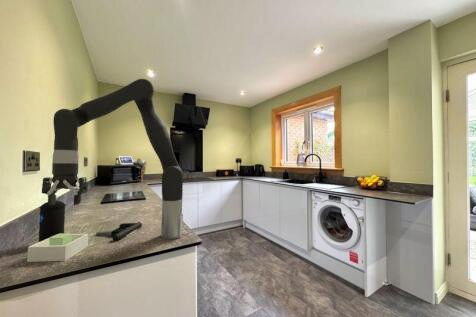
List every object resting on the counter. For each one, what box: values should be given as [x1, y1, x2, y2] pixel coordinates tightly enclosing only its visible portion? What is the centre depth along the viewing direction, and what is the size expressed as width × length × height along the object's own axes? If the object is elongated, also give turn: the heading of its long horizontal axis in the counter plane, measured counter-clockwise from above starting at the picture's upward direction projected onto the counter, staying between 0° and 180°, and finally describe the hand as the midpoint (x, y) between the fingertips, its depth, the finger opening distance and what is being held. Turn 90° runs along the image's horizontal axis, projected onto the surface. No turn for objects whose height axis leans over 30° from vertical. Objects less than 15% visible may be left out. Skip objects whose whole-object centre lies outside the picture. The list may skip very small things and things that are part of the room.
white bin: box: [26, 233, 89, 263], centre depth 73 cm, size 12×12×5 cm
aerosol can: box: [38, 195, 67, 242], centre depth 82 cm, size 8×8×20 cm
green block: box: [49, 232, 73, 246], centre depth 73 cm, size 4×4×6 cm
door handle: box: [95, 221, 143, 242], centre depth 96 cm, size 3×20×16 cm
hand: (64, 204), depth 74 cm, fingers open, 8 cm apart
